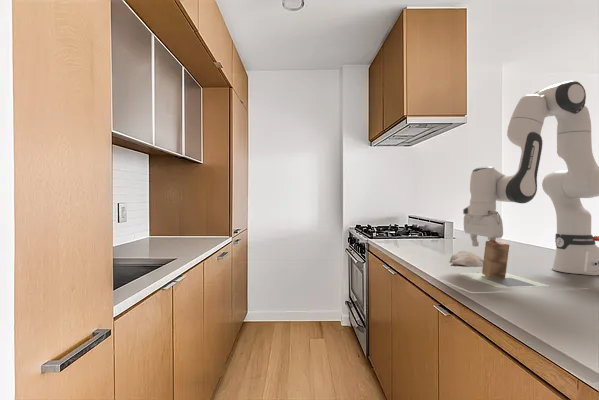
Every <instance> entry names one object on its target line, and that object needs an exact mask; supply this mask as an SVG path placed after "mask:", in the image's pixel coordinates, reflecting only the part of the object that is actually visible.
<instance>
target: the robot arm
mask: <svg viewBox="0 0 599 400" xmlns="http://www.w3.org/2000/svg"><path fill="white" fill-rule="evenodd" d="M586 99H587V93H586V89H585V87H584V86H583V84H581V82H579V81H577V80H569V81H568V80H567V81H563V82H561V83H557V84H553V85H550V86H548V87H546V88H543V89H542V90H537V91H536V92H534V93H531V94H526V95H523V96H522V97H521V98H520V99H519V100H518V103H517V104H516V106H515V108H514V109H513V112H512V115H511V117H510V120H509V124H508V125H507V131H506V137H507V138H508V141H510V143H511V144H513V145H515V146H517V147H519V148H520V150H521V153H520V159H519V164H518V168H517V171H516V173H515V174H513V175H506V174H503V173H501V172H500V171H498V170H497V169H496V168H495V167H494V166H492V165H491V166H490V165H489V166H482V167H476V168H474V169H473V170H472V171H471V174H470V179H469V192H470V200H469V205H468V206H466V207H464V208H463V210H462V213H463V214H462V215H464V216H463V231H464V233H465V234H468V235H469V234H470V235H469V238H470V240H471V243H472V244H471V246H472V247H477V248H478V247H479V243H480V242H479V241H478V236H480V237H481V236H482V237H487V241H497V239H501V238H503V235H504V226H503V225H504V224H503V219H502V217H501V214H500V213H499V212H498V211H497V202H503V203H504V202H505V203H516V204H528V203H529V202H531V201H532V200H533V199H534V198H535V197H536V194H537V192H538V191H537V190H538V179H537V178H538V174H539V173H538V172H539V167H540V161H541V156H542V151H543V138H542V136H541V133H542V129H543V125H544V121H545V118H548V117H555V119H556V122H557V125H556V153H557V155H558V157H559V158H561V159H563V161H564V162H565V165H566V168H567V169H564V170H563V169H562V170H556V171H554V172H550V173H548V174H547V175H545V176H544V178H543V179H542V183H541V184H542V185H541V186H542V190H543V192H544V193H545V194H546V195H547V196H548V197H549V199H550V200H551V201H552V204H553V207H554V210H555V214H556V217H555V218H556V233H555V240H554V241H555V246H556V247H555V255H554V259H553V263H552V267H551V270H553V271H556V272H561V273H567V274H575V275H576V274H577V275H578V274H579V275H586V276H599V246H597V244H596V242H599V236H598V235H595V236H593V235H592V214H591V213H590V211H588V209H586V208H585V207H584V206H583V203H582V201H581V199H591V198H595V197H596V198H597V197H599V165H598V164H597V162H596V159H595V158H594V154H593V147H592V146H593V145H592V122H591V115H590V111H589V108H588V107H587V105H586Z"/></svg>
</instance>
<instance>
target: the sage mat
mask: <svg viewBox="0 0 599 400" xmlns="http://www.w3.org/2000/svg"><path fill="white" fill-rule="evenodd" d="M458 274H459V275H461V276H464V277H467V278H470V279H472V280H475V281H478V282H481V283H483V284H486V285H489V286H491V287H495V288H497V289H505V288H506V289H508V288H509V289H510V288H511V289H512V288H531V287H532V288H536V287H537V288H539V287H540V288H541V287H550V285H549V284H545V283H542V282H538V281H534V280H532V279H528V278H525V277H523V276H518V275H514V274H511V273H508V272H506V276H505V278H488V277H487V276H485V275H484V274H482V272H464V273H463V272H462V273H459V272H458Z"/></svg>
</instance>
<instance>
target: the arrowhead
mask: <svg viewBox="0 0 599 400" xmlns="http://www.w3.org/2000/svg"><path fill="white" fill-rule="evenodd" d="M450 261H451V264H452V265H456V266H462V267H468V268H469V267H471V268H472V267H473V268H481V267H482V268H483V261H484V258H482V257H480V256H479V255H477V254H475V253H473V252H470V251H466V250H461V251H458V252H457V253H455V254H453V255H452V256H451V257H450Z"/></svg>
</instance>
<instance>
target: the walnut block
mask: <svg viewBox="0 0 599 400" xmlns="http://www.w3.org/2000/svg"><path fill="white" fill-rule="evenodd" d="M484 244H485V245H484V253H483V260H484V261H483V267H482V269H481V273H482V274H484V275H485V276H487V277H488V278H505V276H506V273H507V266H508V259H509V252H510V250H509V249H510V244H509V243H506V242H505V241H503V240H496V241H489V240H486V241H485V243H484Z"/></svg>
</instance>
